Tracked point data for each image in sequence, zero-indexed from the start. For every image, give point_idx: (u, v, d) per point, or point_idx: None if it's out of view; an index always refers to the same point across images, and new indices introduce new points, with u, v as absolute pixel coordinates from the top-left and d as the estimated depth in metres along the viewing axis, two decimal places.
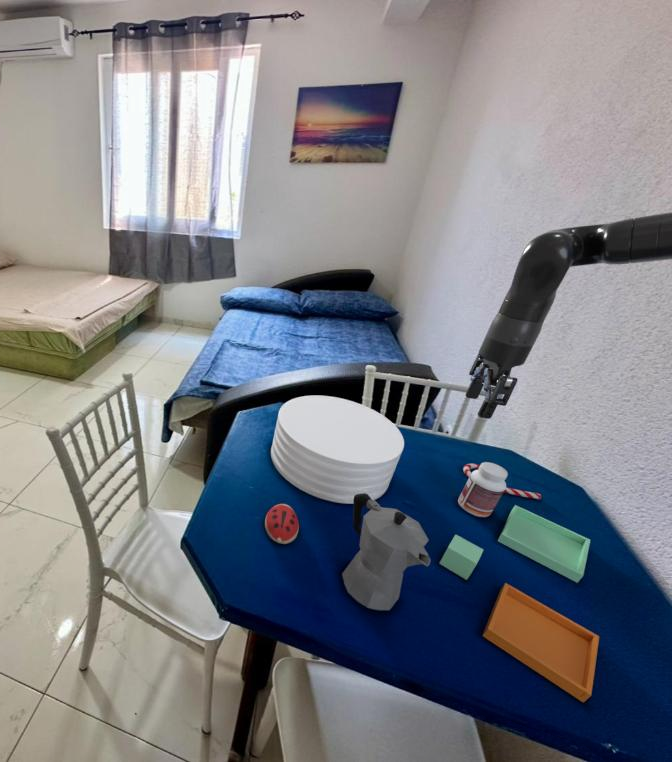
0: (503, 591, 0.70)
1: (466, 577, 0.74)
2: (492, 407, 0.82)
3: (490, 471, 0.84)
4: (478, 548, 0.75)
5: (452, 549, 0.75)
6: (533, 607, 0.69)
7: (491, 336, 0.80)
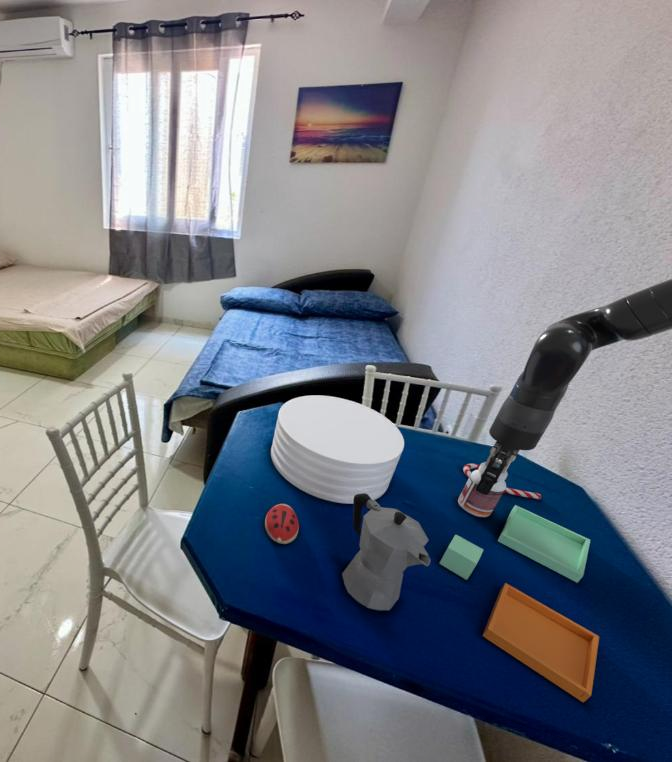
0: (503, 591, 0.70)
1: (466, 577, 0.74)
2: (487, 484, 0.83)
3: None
4: (478, 548, 0.75)
5: (452, 549, 0.75)
6: (533, 607, 0.69)
7: (498, 414, 0.81)
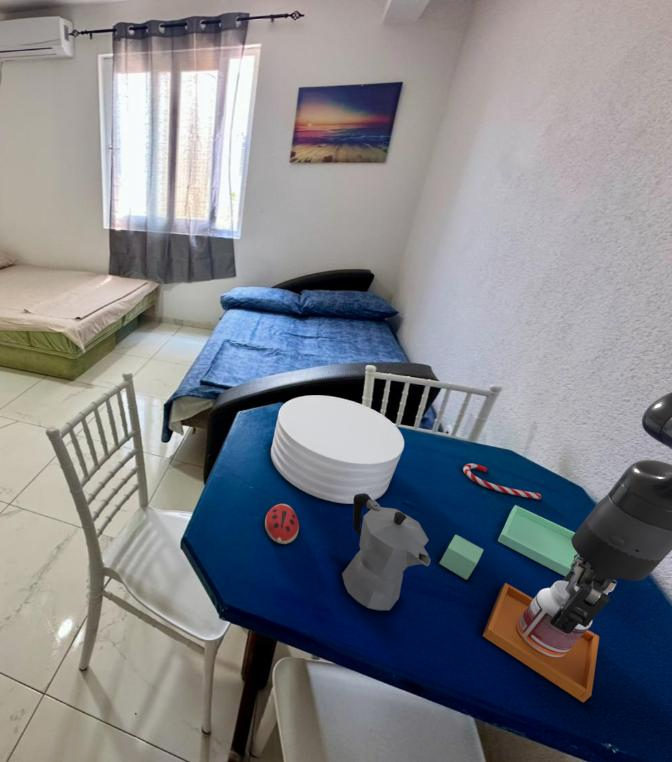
0: (503, 591, 0.70)
1: (466, 577, 0.74)
2: (570, 620, 0.56)
3: None
4: (478, 548, 0.75)
5: (452, 549, 0.75)
6: None
7: (588, 522, 0.55)
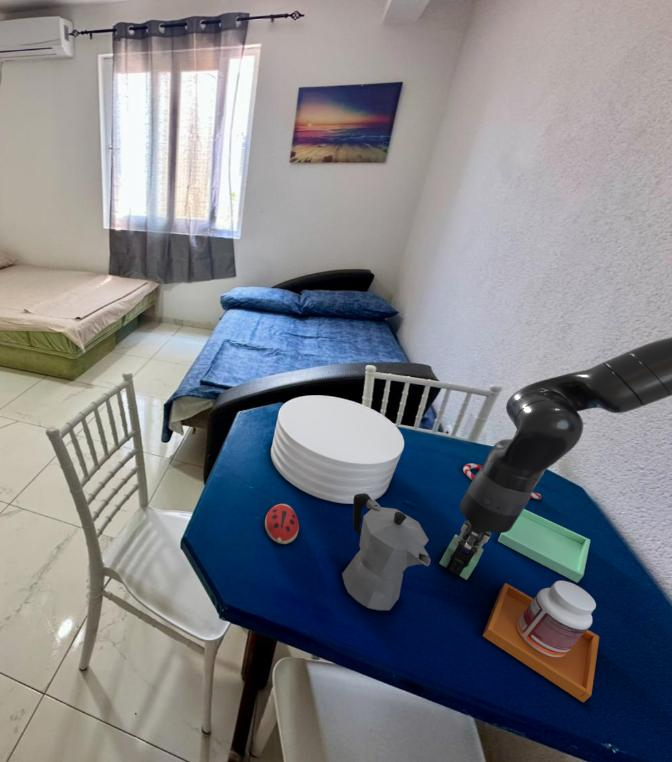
0: (503, 591, 0.70)
1: (466, 577, 0.74)
2: (458, 564, 0.73)
3: (570, 599, 0.59)
4: None
5: (452, 549, 0.75)
6: None
7: (469, 488, 0.70)
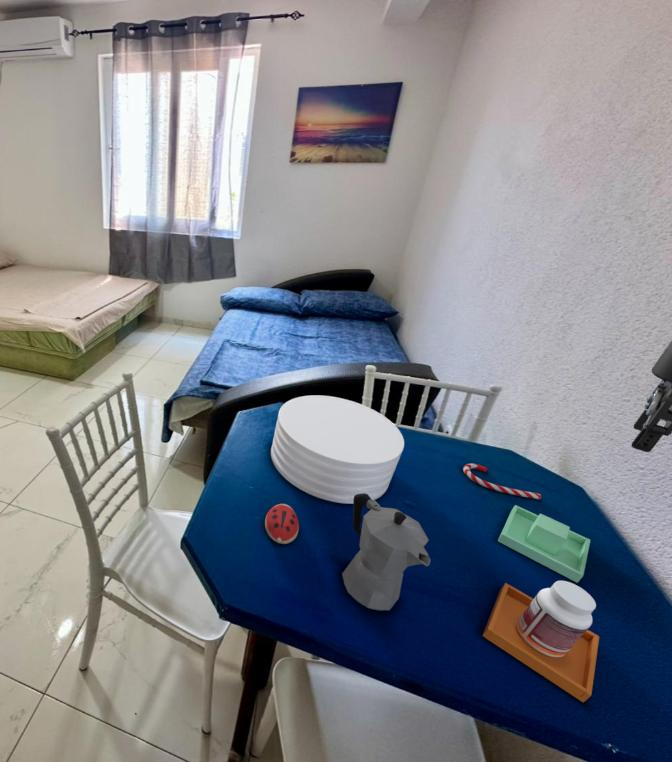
0: (503, 591, 0.70)
1: (554, 553, 0.79)
2: (652, 437, 0.65)
3: (570, 599, 0.59)
4: (564, 525, 0.80)
5: (540, 527, 0.79)
6: None
7: (669, 348, 0.64)
